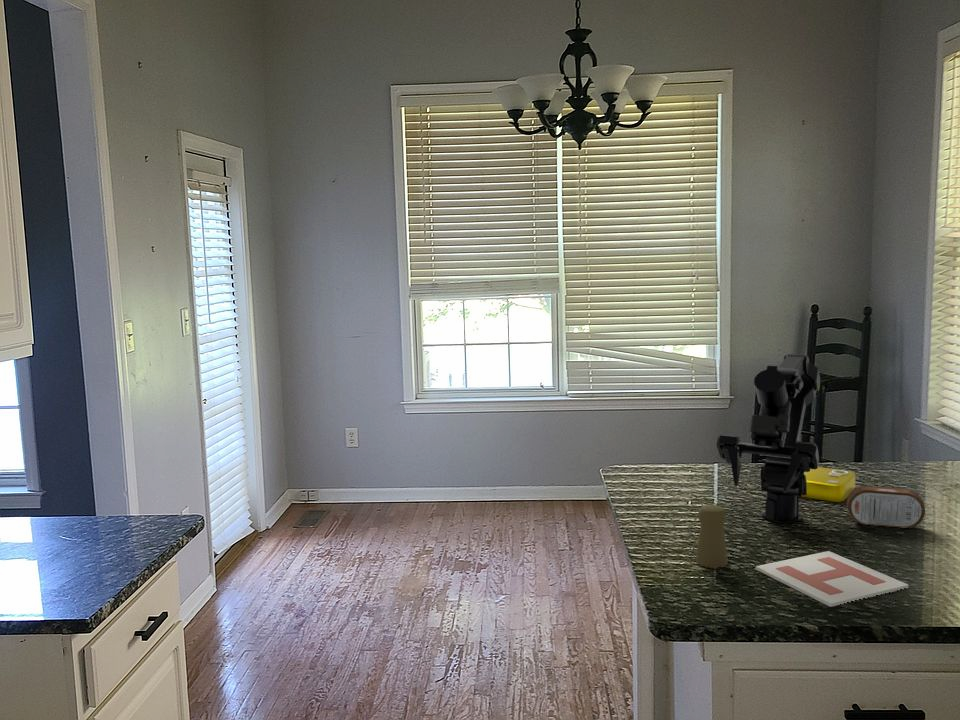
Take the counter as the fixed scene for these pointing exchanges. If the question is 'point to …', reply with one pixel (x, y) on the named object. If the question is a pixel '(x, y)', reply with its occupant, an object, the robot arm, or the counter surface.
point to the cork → (712, 537)
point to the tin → (885, 506)
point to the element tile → (829, 484)
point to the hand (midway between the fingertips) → (759, 488)
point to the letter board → (831, 578)
